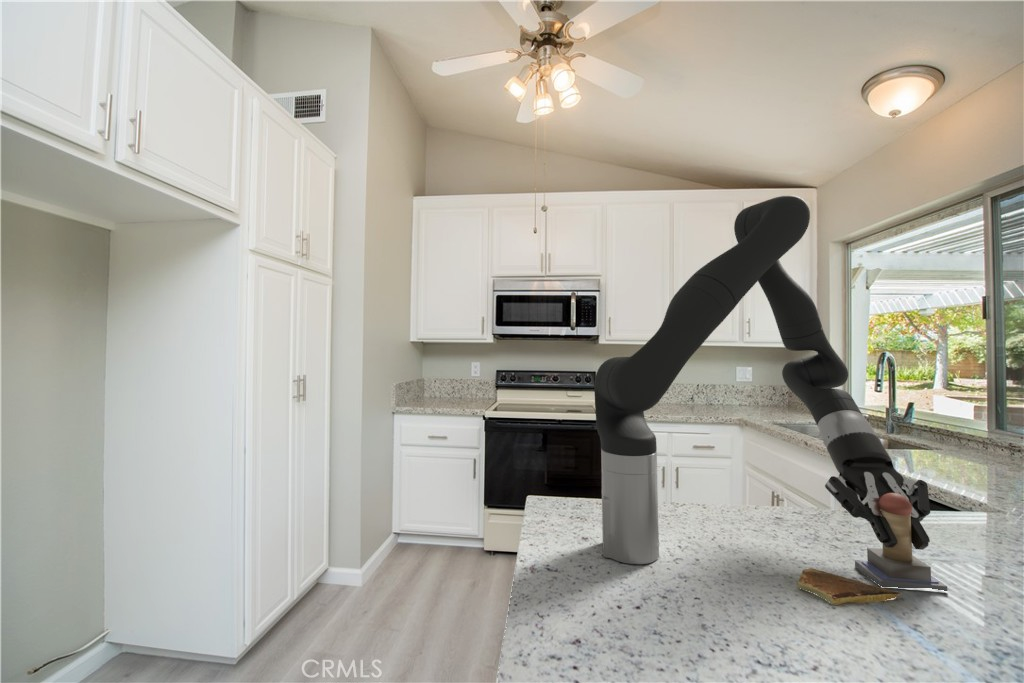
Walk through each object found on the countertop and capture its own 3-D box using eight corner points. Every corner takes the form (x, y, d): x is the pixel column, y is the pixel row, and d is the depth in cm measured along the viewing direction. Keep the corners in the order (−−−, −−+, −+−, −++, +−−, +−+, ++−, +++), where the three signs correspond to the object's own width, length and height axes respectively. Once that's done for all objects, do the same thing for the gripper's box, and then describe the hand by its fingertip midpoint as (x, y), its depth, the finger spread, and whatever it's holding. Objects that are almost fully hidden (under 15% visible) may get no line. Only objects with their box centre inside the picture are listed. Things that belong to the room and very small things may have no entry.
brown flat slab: (901, 603, 56) (901, 590, 56) (903, 631, 50) (902, 616, 51) (804, 575, 63) (804, 563, 63) (796, 597, 58) (795, 584, 58)
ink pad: (880, 587, 59) (880, 579, 59) (855, 566, 65) (854, 559, 65) (947, 593, 57) (947, 584, 57) (915, 571, 63) (914, 563, 63)
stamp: (890, 578, 59) (886, 498, 60) (867, 560, 64) (864, 487, 64) (931, 581, 58) (927, 500, 59) (905, 563, 63) (902, 488, 63)
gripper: (813, 429, 71) (862, 531, 58) (909, 431, 68) (982, 539, 55) (799, 453, 76) (841, 552, 63) (888, 456, 73) (951, 560, 60)
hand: (907, 545), depth 59 cm, fingers closed on stamp, 3 cm apart
